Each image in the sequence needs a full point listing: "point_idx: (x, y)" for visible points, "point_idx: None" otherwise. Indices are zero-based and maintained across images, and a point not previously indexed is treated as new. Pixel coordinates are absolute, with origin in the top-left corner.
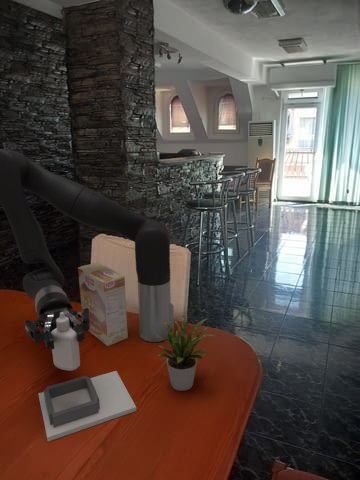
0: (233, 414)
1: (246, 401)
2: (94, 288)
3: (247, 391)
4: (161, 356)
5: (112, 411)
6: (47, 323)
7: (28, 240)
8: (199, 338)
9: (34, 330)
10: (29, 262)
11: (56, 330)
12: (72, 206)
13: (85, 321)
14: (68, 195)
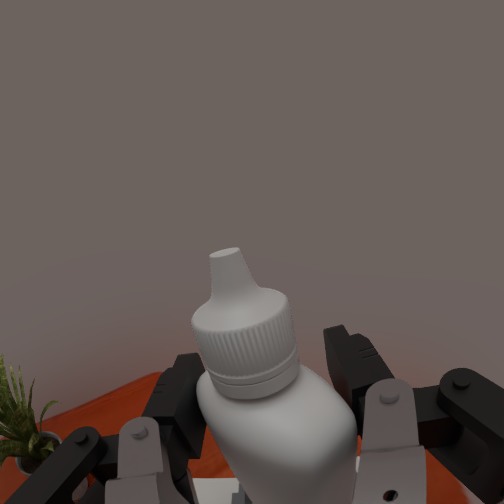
0: (83, 411)
1: (58, 416)
2: None
3: (42, 424)
4: (52, 443)
5: (217, 486)
6: (395, 451)
7: None
8: (3, 380)
9: (471, 381)
10: None
11: (307, 380)
12: None
13: (96, 431)
14: None
